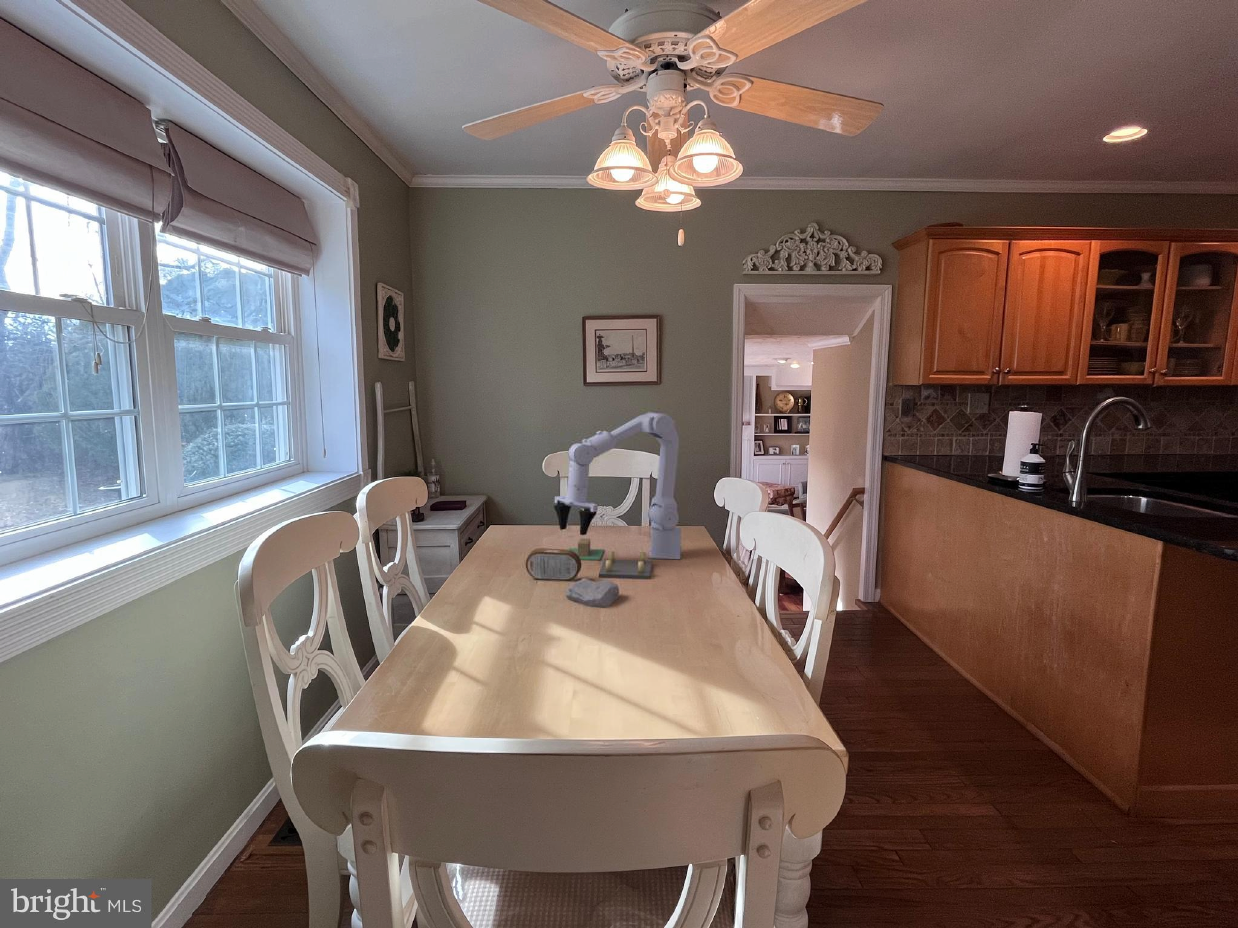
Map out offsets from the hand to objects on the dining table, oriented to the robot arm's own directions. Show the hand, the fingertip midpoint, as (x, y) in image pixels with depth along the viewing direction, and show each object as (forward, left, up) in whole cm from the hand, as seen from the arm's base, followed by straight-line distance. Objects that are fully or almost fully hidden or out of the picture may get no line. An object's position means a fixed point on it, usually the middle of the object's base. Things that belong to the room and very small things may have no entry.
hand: (573, 531), depth 177 cm
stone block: (-9, +27, -11) cm, 30 cm away
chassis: (-16, +3, -10) cm, 19 cm away
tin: (+3, +13, -10) cm, 17 cm away
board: (-2, -11, -11) cm, 16 cm away
